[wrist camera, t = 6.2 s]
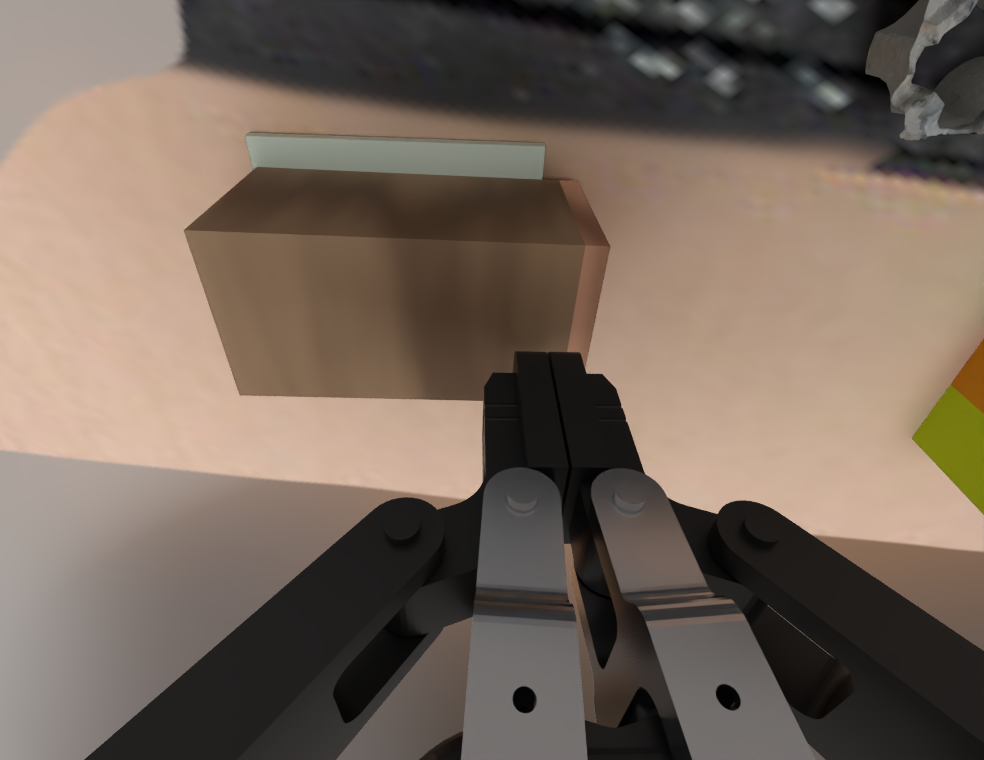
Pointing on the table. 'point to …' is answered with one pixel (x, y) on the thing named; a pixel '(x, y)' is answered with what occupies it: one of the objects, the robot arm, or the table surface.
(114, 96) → the table surface
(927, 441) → the puzzle toy
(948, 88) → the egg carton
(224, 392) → the table surface
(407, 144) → the sage pad
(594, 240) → the walnut block
